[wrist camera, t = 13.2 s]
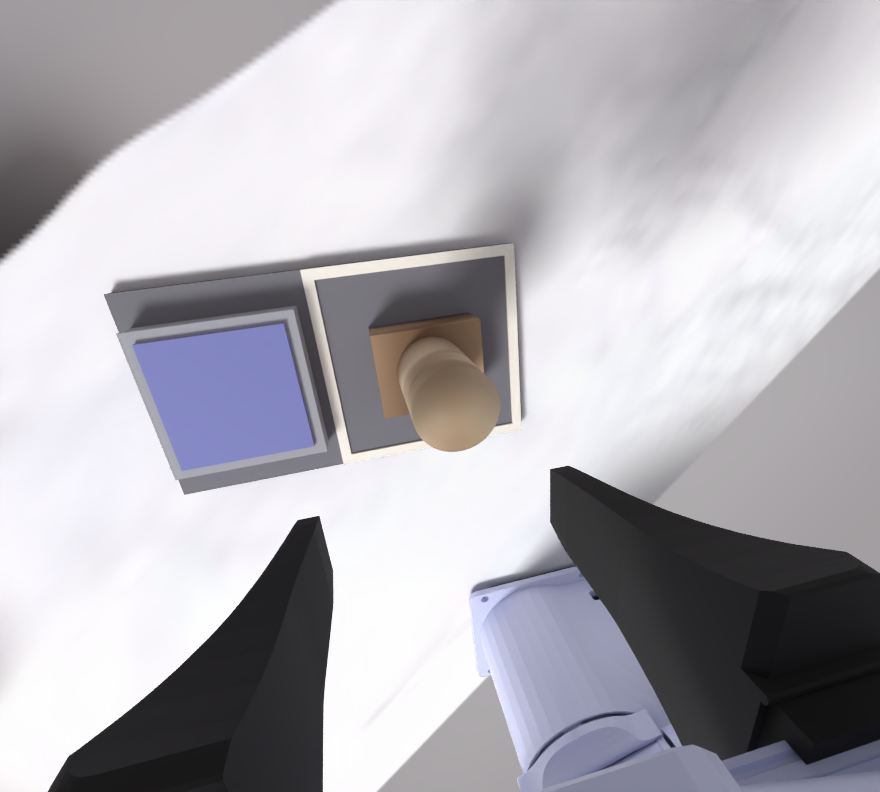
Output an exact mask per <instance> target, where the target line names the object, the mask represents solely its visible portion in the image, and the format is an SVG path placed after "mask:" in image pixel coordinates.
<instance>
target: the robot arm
mask: <svg viewBox="0 0 880 792" xmlns="http://www.w3.org/2000/svg"><path fill="white" fill-rule="evenodd" d="M550 522H551V524H552V526H553V528H554V530H555V532H556V534H557V536H558V538H559V540H560V542H561V544H562V545H563V547H564V549H565V551H566V552H567V554H568V555H569V557H570V558H571V559H572V561H573V562H574V564H575V565H576V566H575V567H571V568H567V569H563V570H559V571H555V572H551V573H547V574H543V575H539V576H535V577H531V578H527V579H523V580H519V581H515V582H511V583H507V584H503V585H499V586H495V587H491V588H487V589H483V590H479V591H475V592H473V593H472V594H471V595H470V596H469V603H470V612H471V621H472V630H473V639H474V648H475V657H476V666H477V672H478V675H479V676H481V677H486V676H489V675H491V676H492V679H493V682H494V685H495V688H496V691H497V694H498V697H499V700H500V703H501V706H502V710H503V712H504V716H505V719H506V722H507V725H508V728H509V731H510V734H511V737H512V740H513V743H514V747H515V749H516V753H517V756H518V759H519V762H520V765H521V768H522V771H523V775H521V776H519V777H518V778H517V782H518V784H519V788H520V791H521V792H880V573H878V572H877V571H876V570H874V569H872V568H871V567H869V566H868V565H866V564H865V563H863V562H862V561H860V560H859V559H857V558H855V557H854V556H852V555H850V554H849V553H847V552H843V551H836V550H829V549H822V548H815V547H809V546H802V545H795V544H789V543H784V542H779V541H774V540H769V539H764V538H759V537H755V536H751V535H746V534H742V533H738V532H734V531H731V530H726V529H723V528H720V527H716V526H712V525H709V524H706V523H702V522H699V521H696V520H693V519H690V518H687V517H684V516H681V515H678V514H675V513H672V512H670V511H667V510H665V509H662V508H660V507H657V506H655V505H652V504H650V503H648V502H645V501H643V500H640V499H638V498H636V497H634V496H631V495H629V494H627V493H625V492H623V491H621V490H619V489H616V488H614V487H612V486H610V485H608V484H606V483H604V482H602V481H600V480H598V479H596V478H594V477H592V476H590V475H588V474H586V473H584V472H581V471H579V470H577V469H575V468H573V467H570V466H565V467H560V468H555V469H550ZM580 572H581V573H580ZM484 596H486V597H484ZM483 597H484V598H483ZM332 612H333V569H332V565H331V561H330V557H329V553H328V549H327V545H326V541H325V537H324V533H323V529H322V525H321V521H320V517H319V516H317V517H312V518H307V519H302V520H298V521H297V522H296V523H295V525H294V526H293V528H292V529H291V531H290V533H289V534H288V536H287V537H286V539H285V541H284V542H283V544H282V545H281V547H280V548H279V550H278V551H277V553H276V554H275V556H274V557H273V559H272V560H271V562H270V563H269V565H268V566H267V568H266V569H265V570H264V572H263V573H262V575H261V576H260V578H259V579H258V580H257V582H256V583H255V584H254V586H253V587H252V588H251V589H250V591H249V592H248V593H247V595H246V596H245V597H244V599H243V600H242V601H241V602H240V604H239V605H238V606H237V607H236V609H235V610H234V611H233V612H232V613H231V615H230V616H229V617H228V618H227V619H226V620H225V621H224V622H223V623H222V625H221V626H220V627H219V628H218V629H217V630H216V631H215V632H214V633H213V634H212V635H211V636H210V638H209V639H207V640H206V641H205V642H204V643H203V644H202V645H201V646H200V647H199V648H198V649H197V650H196V651H195V652H194V653H193V654H192V655H191V656H190V657H189V658H188V659H187V660H186V661H185V662H184V663H183V664H182V665H181V666H180V667H179V668H178V669H177V670H176V671H175V672H173V673H172V674H171V675H170V676H169V677H168V678H167V679H166V680H164V681H163V682H162V683H161V684H160V685H159V686H158V687H157V688H155V689H154V690H153V691H152V692H151V693H150V694H148V695H147V696H146V697H145V698H144V699H142V700H141V701H140V702H139V703H138V704H136V705H135V706H134V707H133V708H132V709H130V710H129V711H128V712H127V713H125V714H124V715H123V716H122V717H120V718H119V719H118V720H116V721H115V722H114V723H113V724H111V725H110V726H109V727H107V728H106V729H105V730H103V731H102V732H101V733H99V734H98V735H97V736H96V737H94V738H93V739H92V740H90V741H89V742H88V743H86V744H85V745H84V746H82V747H81V748H80V749H78V750H77V751H76V752H74V753H73V754H72V755H70V756H69V757H68V758H67V760H66V762H65V763H64V765H63V767H62V768H61V770H60V772H59V773H58V775H57V777H56V778H55V780H54V782H53V783H52V785H51V787H50V789H49V791H48V792H323V702H324V687H325V677H326V668H327V658H328V649H329V640H330V631H331V621H332Z"/></svg>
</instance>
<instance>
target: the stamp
mask: <svg viewBox="0 0 880 792" xmlns="http://www.w3.org/2000/svg"><path fill="white" fill-rule="evenodd" d="M368 328H369V334H370V340H371V345H372V351H373V357H374V363H375V368H376V374H377V380H378V385H379V391H380V397H381V402H382V408H383V413H384V418H385V419H387V418H392V417H398V416H403V415H409V414H410V416H411V419H412V422H413V424H414V427H415V430H416V432H417V433H418V435H419V436H420V438H421V439H422V440H423V441H424V442H425V443H427V444H428V445H429V446H431V447H433V448H435V449H438V450H442V451H448V452H456V451H462V450H466V449H469V448H472V447H474V446H475V445H477V444H479V443H480V442H482V441H483V440H484V439H485V438H486V437H487V436H488V435H489V434H490V433H491V431H492V430H493V429H494V427H495V425H496V423H497V420H498V417H499V414H500V398H499V394H498V391H497V389H496V387H495V385H494V384H493V383H492V381H491V380H490V379H489V378H488V377H487V376H486V375H485V374H484V365H483V351H482V337H481V323H480V319H479V318H477V317H475V316H474V315H472V314H470V313H469V312H468V313H461V314H454V315H448V316H441V317H434V318H428V319H421V320H414V321H408V322H401V323H394V324H387V325H381V326H374V327H368Z"/></svg>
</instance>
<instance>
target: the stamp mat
mask: <svg viewBox="0 0 880 792" xmlns="http://www.w3.org/2000/svg"><path fill="white" fill-rule="evenodd" d="M104 296H105V299H106V301H107V304H108V306H109V309H110V311H111V314H112V316H113V319H114V321H115V324H116V326H117V329H118V331H119V333H117V334H116V335H117V337H118V339H119V342H120V344H121V347H122V349H123V352H124V354H125V357H126V359H127V362H128V364H129V367H130V369H131V371H132V374H133V376H134V379H135V381H136V384H137V386H138V389H139V391H140V394H141V396H142V398H143V401H144V403H145V406H146V408H147V411H148V413H149V416H150V418H151V421H152V423H153V426H154V428H155V430H156V433H157V435H158V438H159V440H160V443H161V445H162V448H163V450H164V453H165V455H166V458H167V460H168V462H169V465H170V467H171V470H172V472H173V475H174V477H175V480H179V482H180V485H181V487H182V490H183V492H184V495H185V494H190V493H195V492H201V491H206V490H211V489H216V488H221V487H226V486H231V485H236V484H242V483H247V482H252V481H257V480H262V479H267V478H272V477H277V476H283V475H288V474H293V473H298V472H303V471H308V470H313V469H319V468H324V467H329V466H334V465H339V464H349V463H354V462H359V461H364V460H369V459H375V458H380V457H385V456H390V455H395V454H400V453H405V452H410V451H416V450H421V449H426V448H431V446H429V445H428V444H427V443H425V442H424V441H423V440H422V439H421V438H420V436H419V435H418V433H417V432H416V430H415V427H414V424H413V422H412V419H411V416H410V414H409V415H403V416H398V417H392V418H387V419H385V418H384V413H383V408H382V402H381V397H380V391H379V385H378V380H377V374H376V368H375V363H374V357H373V351H372V345H371V340H370V334H369V328H368V327H374V326H381V325H387V324H394V323H401V322H408V321H414V320H421V319H428V318H434V317H441V316H448V315H454V314H461V313H468V312H469V313H470V314H472V315H474V316H475V317H477V318H479V319H480V323H481V337H482V351H483V365H484V374H485V375H486V376H487V377H488V378H489V379H490V380H491V381H492V383H493V384H494V385H495V387H496V389H497V391H498V394H499V398H500V414H499V417H498V420H497V423H496V425H495V427H494V429H493V430H492V431H491V433H490V434H489V435H488V436H492V435H498V434H503V433H508V432H513V431H518V430H521V407H520V382H519V356H518V330H517V305H516V279H515V253H514V243H507V244H499V245H491V246H483V247H475V248H467V249H459V250H451V251H443V252H435V253H427V254H419V255H411V256H403V257H395V258H387V259H379V260H371V261H363V262H355V263H347V264H339V265H331V266H323V267H315V268H307V269H299V270H291V271H283V272H275V273H267V274H259V275H251V276H243V277H235V278H227V279H219V280H211V281H203V282H195V283H187V284H179V285H171V286H163V287H155V288H147V289H139V290H131V291H123V292H115V293H108V294H104Z"/></svg>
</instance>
